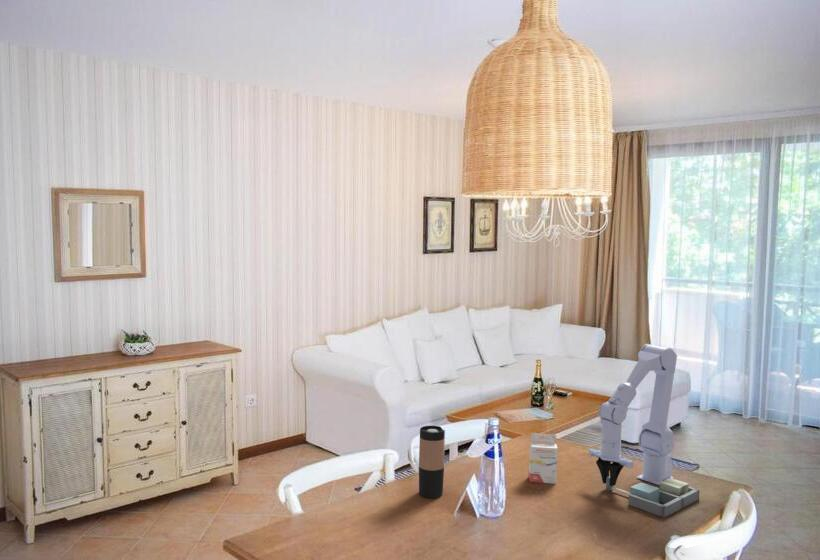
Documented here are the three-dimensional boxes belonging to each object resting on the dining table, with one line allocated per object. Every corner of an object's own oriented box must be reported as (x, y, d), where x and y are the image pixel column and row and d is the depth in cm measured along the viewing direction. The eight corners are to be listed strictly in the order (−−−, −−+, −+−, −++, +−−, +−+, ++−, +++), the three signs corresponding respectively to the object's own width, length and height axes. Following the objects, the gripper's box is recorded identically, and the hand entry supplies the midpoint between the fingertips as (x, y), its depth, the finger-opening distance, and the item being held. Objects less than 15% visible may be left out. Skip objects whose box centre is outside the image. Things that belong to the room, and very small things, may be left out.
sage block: (669, 493, 206) (669, 477, 205) (687, 499, 201) (688, 483, 201) (659, 498, 202) (660, 482, 201) (678, 504, 197) (679, 488, 197)
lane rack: (664, 488, 210) (664, 478, 209) (698, 499, 201) (699, 489, 201) (628, 504, 196) (628, 494, 196) (664, 517, 188) (664, 507, 187)
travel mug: (414, 496, 199) (415, 430, 197) (423, 487, 206) (424, 424, 205) (438, 500, 196) (440, 434, 195) (446, 491, 203) (448, 427, 202)
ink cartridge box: (529, 482, 212) (531, 437, 211) (528, 476, 217) (529, 432, 216) (556, 484, 211) (558, 438, 210) (554, 478, 216) (556, 434, 215)
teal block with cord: (611, 486, 210) (612, 472, 210) (658, 503, 198) (659, 488, 197) (600, 491, 206) (601, 477, 206) (648, 508, 194) (649, 493, 194)
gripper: (583, 437, 209) (581, 480, 210) (625, 449, 198) (623, 494, 199) (596, 433, 213) (594, 475, 214) (637, 445, 203) (635, 488, 204)
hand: (609, 483), depth 207 cm, fingers closed on teal block with cord, 2 cm apart
